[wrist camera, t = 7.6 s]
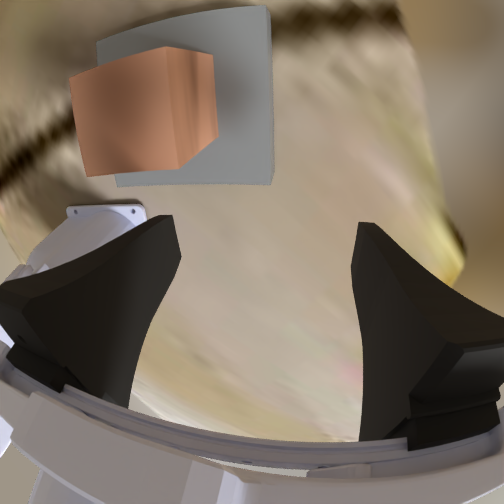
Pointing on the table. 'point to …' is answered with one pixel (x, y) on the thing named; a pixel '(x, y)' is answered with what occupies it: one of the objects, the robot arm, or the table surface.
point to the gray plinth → (216, 92)
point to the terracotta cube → (145, 111)
